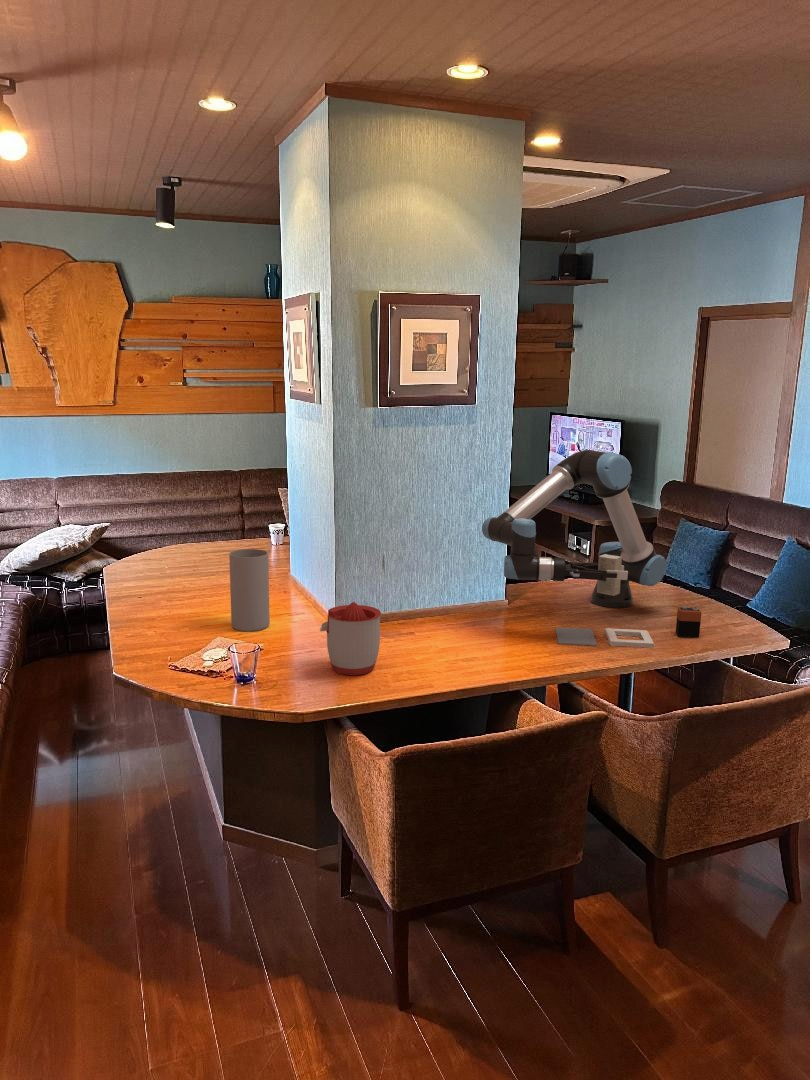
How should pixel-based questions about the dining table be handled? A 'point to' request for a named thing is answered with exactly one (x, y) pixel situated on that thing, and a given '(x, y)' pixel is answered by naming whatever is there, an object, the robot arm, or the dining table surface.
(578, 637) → the grey mat
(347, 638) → the citrus juicer
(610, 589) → the skincare box
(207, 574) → the dining table surface
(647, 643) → the white square frame
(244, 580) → the cylinder vase
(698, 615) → the battery
